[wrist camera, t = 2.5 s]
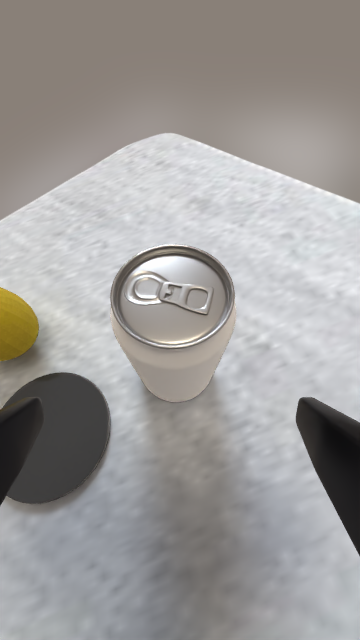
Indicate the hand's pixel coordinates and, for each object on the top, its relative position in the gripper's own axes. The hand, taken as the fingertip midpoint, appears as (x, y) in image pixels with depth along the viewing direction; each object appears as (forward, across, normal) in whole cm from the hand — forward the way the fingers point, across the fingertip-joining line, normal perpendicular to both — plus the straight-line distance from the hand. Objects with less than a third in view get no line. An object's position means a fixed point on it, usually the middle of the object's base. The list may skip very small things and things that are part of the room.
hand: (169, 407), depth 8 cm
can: (+12, 0, +5) cm, 13 cm away
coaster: (+8, +10, +9) cm, 16 cm away
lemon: (+14, +14, +4) cm, 20 cm away
